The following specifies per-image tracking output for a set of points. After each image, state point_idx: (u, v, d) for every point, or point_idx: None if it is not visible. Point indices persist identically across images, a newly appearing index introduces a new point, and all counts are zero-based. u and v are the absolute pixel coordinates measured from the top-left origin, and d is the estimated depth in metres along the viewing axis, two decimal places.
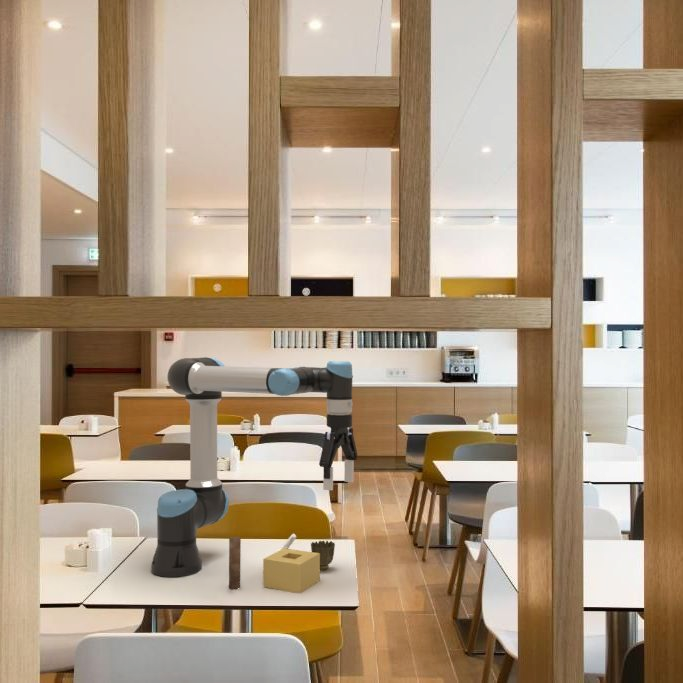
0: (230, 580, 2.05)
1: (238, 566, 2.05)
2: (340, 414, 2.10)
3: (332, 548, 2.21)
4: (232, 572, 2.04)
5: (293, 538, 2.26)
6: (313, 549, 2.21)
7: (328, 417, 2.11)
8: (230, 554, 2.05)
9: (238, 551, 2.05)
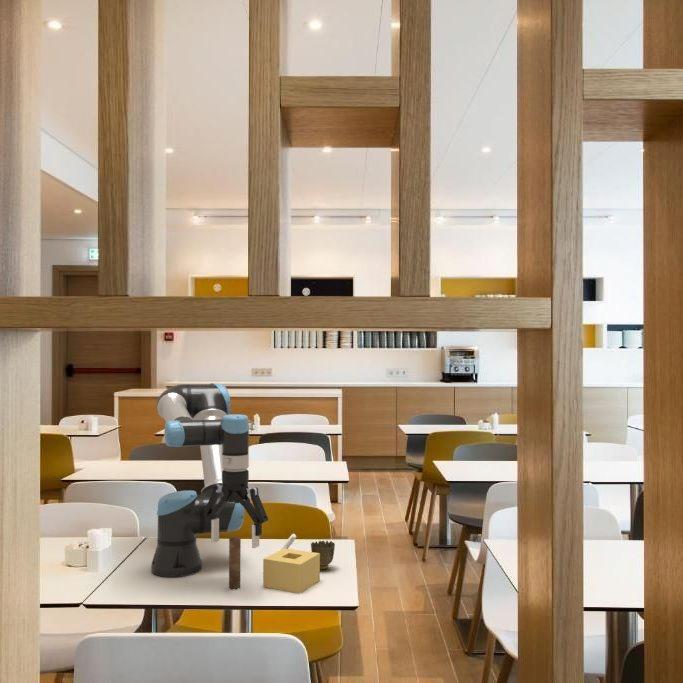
0: (230, 580, 2.05)
1: (238, 566, 2.05)
2: (224, 469, 2.06)
3: (332, 548, 2.21)
4: (232, 572, 2.04)
5: (293, 538, 2.26)
6: (313, 549, 2.21)
7: None
8: (230, 554, 2.05)
9: (238, 551, 2.05)
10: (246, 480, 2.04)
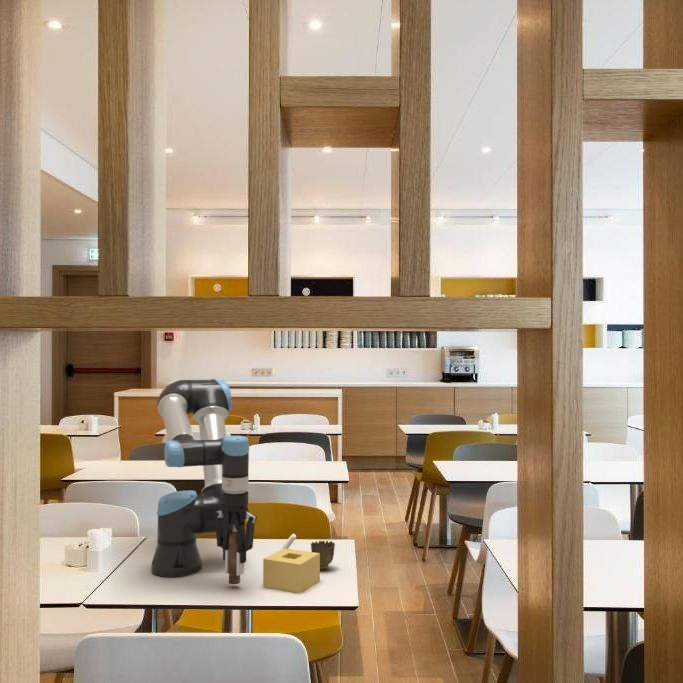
0: (230, 575, 2.05)
1: None
2: (224, 491, 2.06)
3: (332, 548, 2.21)
4: (232, 567, 2.05)
5: (293, 538, 2.26)
6: (313, 549, 2.21)
7: None
8: (230, 549, 2.05)
9: (238, 546, 2.05)
10: (246, 502, 2.05)
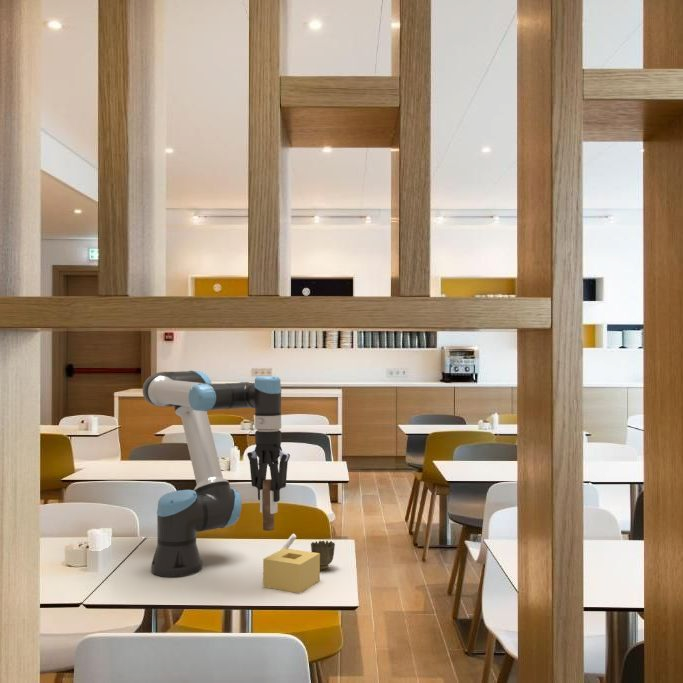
0: (264, 521, 2.06)
1: None
2: (257, 430, 2.08)
3: (332, 548, 2.21)
4: (266, 513, 2.06)
5: (293, 538, 2.26)
6: (313, 549, 2.21)
7: None
8: (264, 495, 2.06)
9: None
10: (279, 440, 2.06)
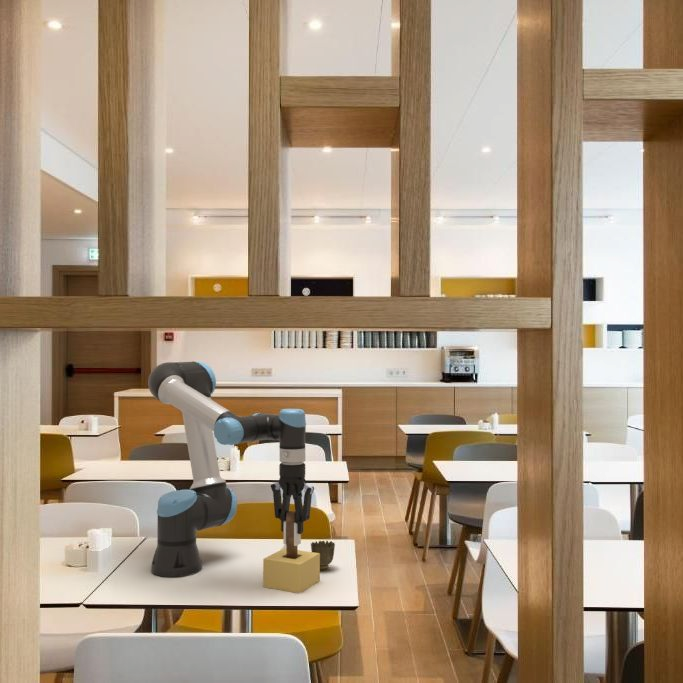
0: (288, 553, 2.08)
1: None
2: None
3: (332, 548, 2.21)
4: (290, 545, 2.08)
5: None
6: (313, 549, 2.21)
7: None
8: (288, 527, 2.08)
9: None
10: (303, 473, 2.08)
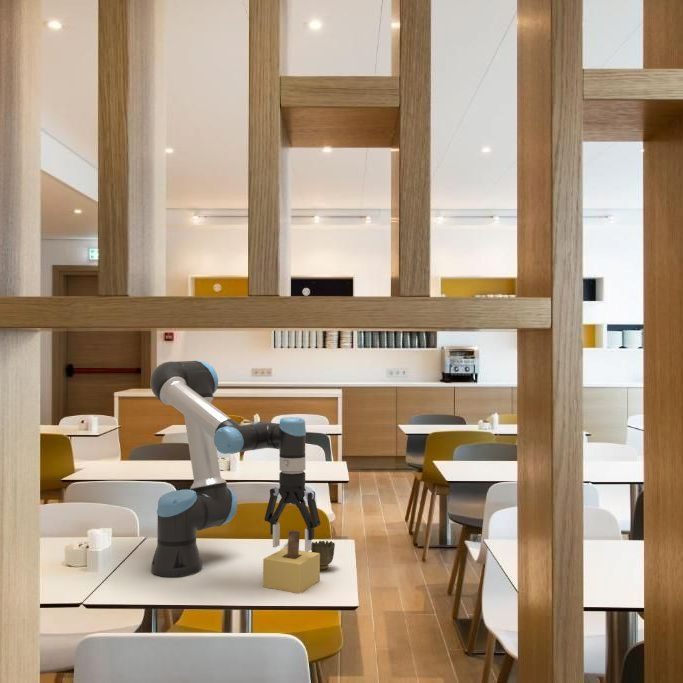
0: None
1: None
2: None
3: (332, 548, 2.21)
4: None
5: None
6: (313, 549, 2.21)
7: None
8: (289, 547, 2.08)
9: (297, 545, 2.08)
10: (303, 482, 2.08)
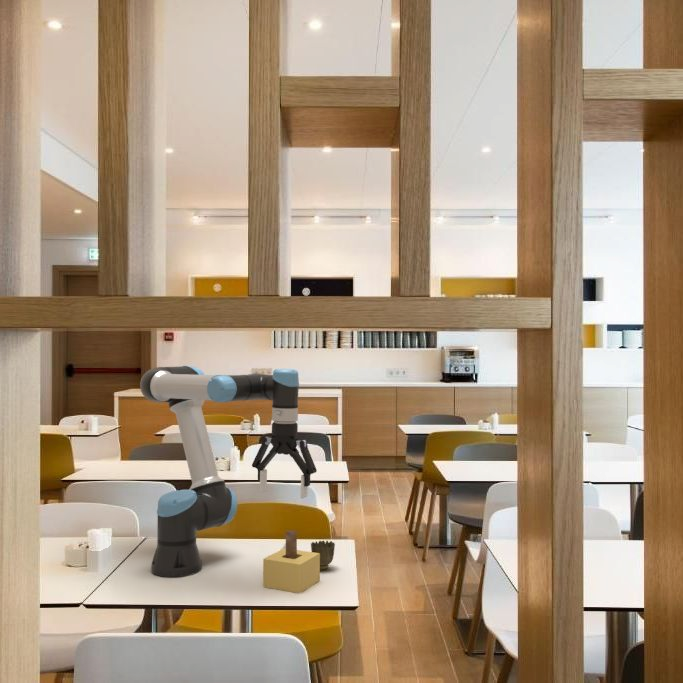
0: None
1: None
2: (274, 421, 2.11)
3: (332, 548, 2.21)
4: None
5: None
6: (313, 549, 2.21)
7: None
8: (287, 547, 2.08)
9: (295, 544, 2.09)
10: (295, 432, 2.09)
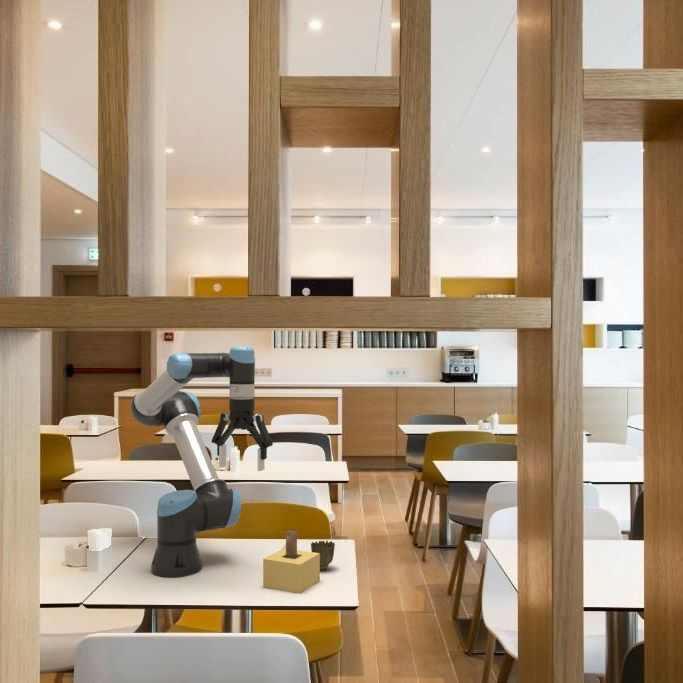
0: None
1: None
2: None
3: (332, 548, 2.21)
4: None
5: None
6: (313, 549, 2.21)
7: None
8: (287, 547, 2.08)
9: (295, 544, 2.09)
10: (252, 408, 2.17)
